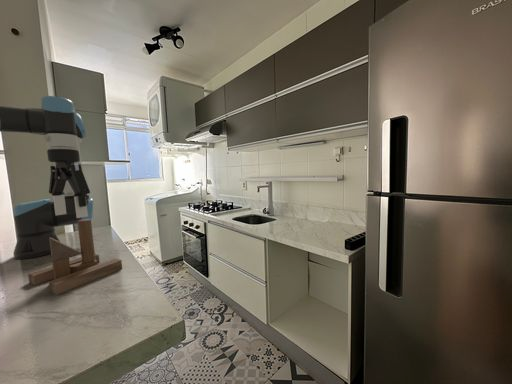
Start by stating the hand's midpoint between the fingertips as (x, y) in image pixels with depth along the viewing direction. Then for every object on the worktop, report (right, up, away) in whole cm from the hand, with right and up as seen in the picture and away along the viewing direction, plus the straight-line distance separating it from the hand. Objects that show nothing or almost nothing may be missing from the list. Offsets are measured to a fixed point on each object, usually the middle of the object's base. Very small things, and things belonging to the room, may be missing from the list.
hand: (71, 215), depth 70 cm
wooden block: (+1, -20, +1) cm, 20 cm away
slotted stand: (+1, -20, +1) cm, 20 cm away
